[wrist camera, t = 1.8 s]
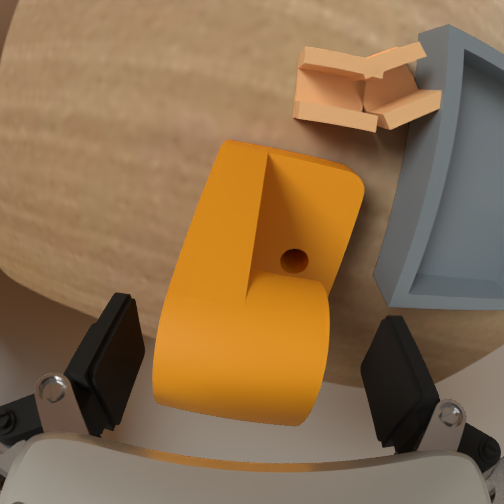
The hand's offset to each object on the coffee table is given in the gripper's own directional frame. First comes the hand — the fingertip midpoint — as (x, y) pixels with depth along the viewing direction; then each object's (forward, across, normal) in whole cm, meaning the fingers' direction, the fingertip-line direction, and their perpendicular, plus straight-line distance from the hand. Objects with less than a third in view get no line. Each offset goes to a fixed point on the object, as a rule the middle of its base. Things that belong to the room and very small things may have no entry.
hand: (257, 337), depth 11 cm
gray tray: (+8, -14, -6) cm, 17 cm away
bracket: (+9, -1, 0) cm, 9 cm away
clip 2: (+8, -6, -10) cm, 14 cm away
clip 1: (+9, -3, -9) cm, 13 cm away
